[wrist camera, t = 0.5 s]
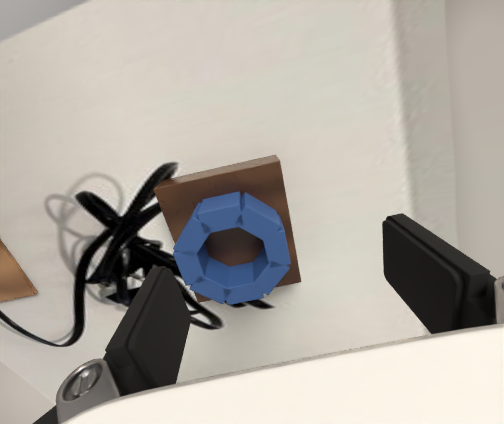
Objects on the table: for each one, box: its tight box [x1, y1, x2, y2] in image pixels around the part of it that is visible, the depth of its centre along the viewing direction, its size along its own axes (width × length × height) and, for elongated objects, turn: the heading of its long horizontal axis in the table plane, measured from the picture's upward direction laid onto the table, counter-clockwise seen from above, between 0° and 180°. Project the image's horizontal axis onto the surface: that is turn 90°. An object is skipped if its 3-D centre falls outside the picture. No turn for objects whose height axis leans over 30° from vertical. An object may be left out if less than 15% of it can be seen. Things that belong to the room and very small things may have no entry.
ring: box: [173, 191, 291, 305], centre depth 24 cm, size 10×10×4 cm
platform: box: [154, 155, 301, 303], centre depth 27 cm, size 14×12×3 cm
